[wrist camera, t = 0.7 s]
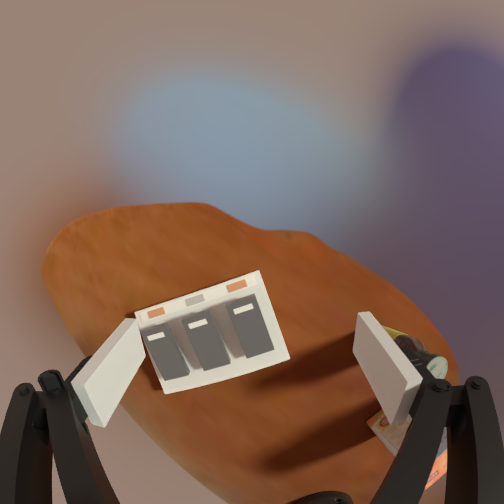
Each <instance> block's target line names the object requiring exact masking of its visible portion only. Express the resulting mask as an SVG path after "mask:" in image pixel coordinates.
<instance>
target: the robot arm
mask: <svg viewBox="0 0 504 504" xmlns="http://www.w3.org/2000/svg"><path fill="white" fill-rule="evenodd" d="M352 352H353V353H354V355H355V357H356V359H357V361H358V363H359V365H360V367H361V368H362V370H363V372H364V374H365V376H366V378H367V380H368V382H369V384H370V386H371V388H372V390H373V391H374V393H375V395H376V397H377V399H378V401H379V403H380V405H381V407H382V409H383V411H384V413H385V415H386V417H387V419H388V421H389V423H390V425H391V426H393V425H397V424H400V423H404V422H405V421H406V419H407V417H408V414H410V416H411V418H412V420H411V423H410V425H409V427H408V429H407V431H406V433H405V434H406V435H405V437H404V439H403V442H402V444H401V446H400V448H399V450H398V453H397V455H396V457H395V459H394V461H393V463H392V465H391V467H390V469H389V471H388V473H387V475H386V476H385V478H384V480H383V482H382V484H381V486H380V487H379V489H378V491H377V492H376V494H375V496H374V498H373V499H372V501H371V502H370V504H418V503H419V500H420V498H421V496H422V494H423V491H424V489H425V486H426V484H427V481H428V479H429V476H430V473H431V471H432V468H433V465H434V462H435V459H436V456H437V453H438V450H439V446H440V443H441V439H442V436H443V432H444V428H445V427H446V429H447V478H446V479H447V480H446V493H445V504H504V448H503V443H502V437H501V432H500V427H499V422H498V418H497V413H496V410H495V406H494V402H493V398H492V395H491V392H490V388H489V385H488V383H487V381H486V380H485V379H484V378H482V377H479V376H471V377H469V378H468V379H467V380H466V382H465V384H464V385H462V386H452V385H451V384H450V383H449V382H448V381H446V380H444V379H439V378H435V377H434V376H433V375H432V373H431V372H430V371H429V370H428V369H427V367H426V366H425V365H424V364H423V362H422V361H421V360H419V358H418V356H417V355H416V354H415V353H414V352H412V351H411V350H409V349H407V348H406V349H400V348H399V347H398V346H397V344H396V343H395V342H394V341H393V339H392V338H391V337H390V336H389V335H388V333H387V332H386V331H385V330H384V328H383V327H382V326H381V325H380V324H379V322H378V321H377V320H376V319H375V317H374V316H373V315H372V314H371V313H370V312H360V313H358V315H357V323H356V331H355V338H354V344H353V351H352ZM145 356H146V355H145V351H144V347H143V343H142V339H141V335H140V331H139V327H138V322H137V319H133V318H126V319H125V320H124V321H123V322H122V323H121V324H120V325H119V326H118V328H117V329H116V330H115V331H114V332H113V333H112V334H111V335H110V337H109V338H108V339H107V340H106V341H105V342H104V343H103V345H102V346H101V347H100V348H99V349H98V350H97V352H96V353H95V354H94V355H93V356H91V355H90V356H88V357H87V358H85V359H83V360H82V362H81V363H80V364H79V365H78V366H77V367H76V368H75V371H73V372H72V373H71V374H70V376H68V378H67V379H66V380H65V381H64V380H63V378H62V376H61V374H60V372H59V371H57V370H48V371H45V372H43V373H42V374H40V376H39V377H38V382H39V384H40V386H41V388H42V390H43V392H42V391H35V389H34V387H33V385H32V384H30V383H22V384H20V385H18V386H17V387H16V388H15V390H14V392H13V395H12V398H11V401H10V404H9V407H8V410H7V413H6V416H5V420H4V423H3V426H2V430H1V434H0V504H52V457H53V454H54V459H55V463H56V467H57V471H58V475H59V479H60V482H61V485H62V489H63V492H64V495H65V498H66V501H67V504H120V503H119V501H118V499H117V497H116V495H115V493H114V491H113V489H112V487H111V484H110V483H109V480H108V478H107V476H106V474H105V471H104V469H103V467H102V465H101V462H100V460H99V457H98V455H97V452H96V449H95V447H94V444H93V441H92V438H91V435H90V433H89V429H88V426H87V424H86V423H85V420H86V418H87V417H89V419H90V421H91V423H92V424H94V425H97V426H101V427H105V426H106V424H107V423H108V421H109V419H110V417H111V416H112V414H113V412H114V410H115V408H116V407H117V405H118V403H119V401H120V399H121V398H122V396H123V394H124V392H125V391H126V389H127V387H128V385H129V384H130V382H131V380H132V379H133V377H134V375H135V373H136V372H137V370H138V368H139V367H140V365H141V363H142V362H143V360H144V358H145ZM295 504H354V503H353V501H352V499H351V497H350V496H349V495H347V494H345V493H343V492H338V491H327V492H320V493H316V494H313V495H310V496H307V497H305V498H303V499H301V500H299V501H297V502H296V503H295Z"/></svg>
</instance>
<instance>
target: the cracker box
mask: <svg viewBox="0 0 504 504" xmlns="http://www.w3.org/2000/svg"><path fill="white" fill-rule="evenodd" d="M411 420H412V418H411V416H410V414H408V417H407V419H406V421H405V422H404V423H400V424H397V425H393V426H391V425H390V423H389V421H388V419H387V417H386V415H385V413H384V411H383V409H381V410H380V411H379V412H377V413H376V414H375V415H374V416H372V417H371V418H370V419H369V420H367V421H366V423H367V424H368V426H369V427H370V428H371V429H372V431H373V432H374V433H375V434H376V436H377V437H378V438H379V439H380V440H381V442H382V443H383V444H384V445H385V446H386V447H387V449H388V450H389V451H390V452H391V453H392V454H393V455H394V457H396V455H397V453H398V450H399V448H400V446H401V444H402V442H403V439H404V437H405V435H406V434H405V433H406V431H407V429H408V427H409V425H410V423H411ZM446 472H447V429H446V427H445V428H444V432H443V436H442V439H441V443H440V446H439V450H438V453H437V456H436V459H435V462H434V465H433V468H432V471H431V473H430V476H429V479H428V481H427V484H426V486H425V489H424V490H426V489H427V488H428V487H429V486H431V485H432V484H433V483H434V482H435V481H437V480H438V479H439V478H440V477H441V476H442V475H443V474H445V473H446Z"/></svg>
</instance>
